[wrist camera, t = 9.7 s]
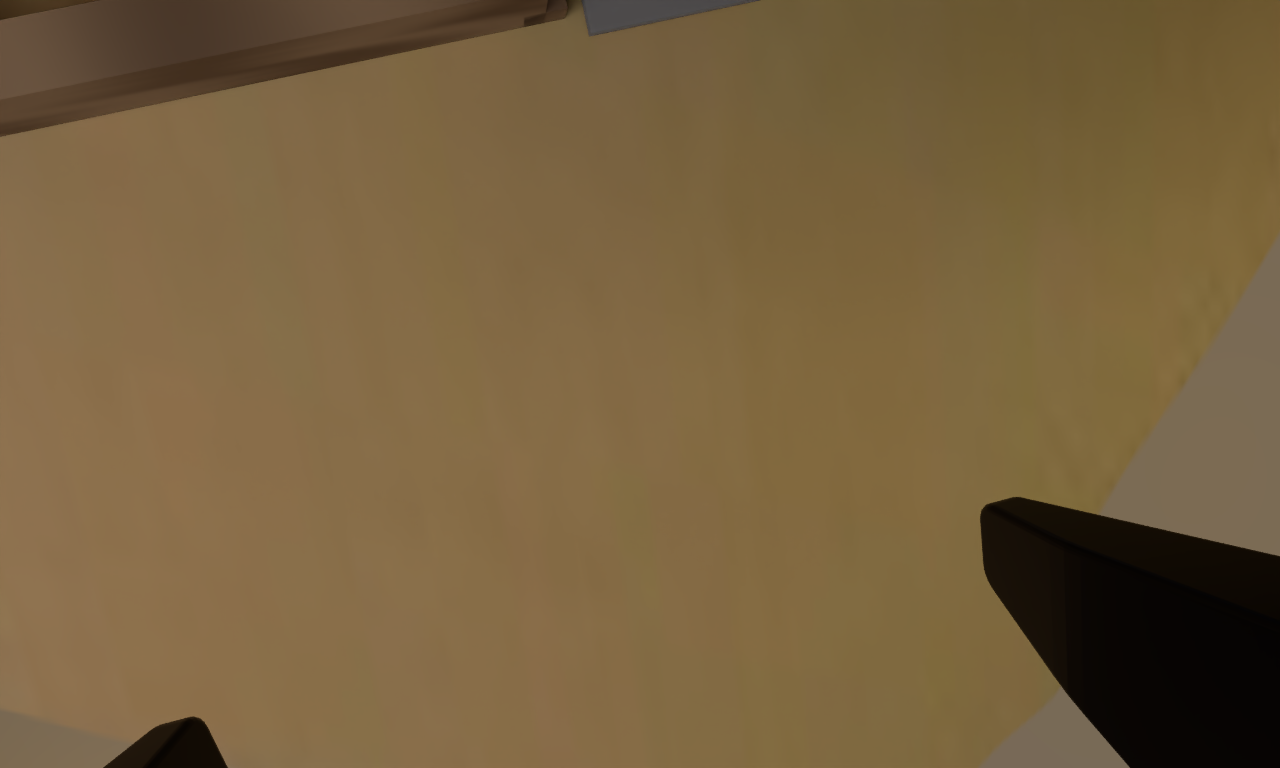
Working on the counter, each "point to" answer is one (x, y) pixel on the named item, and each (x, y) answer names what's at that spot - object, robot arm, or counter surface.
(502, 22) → the rack
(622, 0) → the rubber mat
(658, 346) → the counter surface
